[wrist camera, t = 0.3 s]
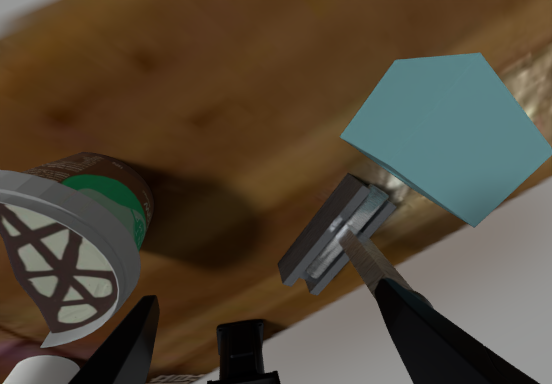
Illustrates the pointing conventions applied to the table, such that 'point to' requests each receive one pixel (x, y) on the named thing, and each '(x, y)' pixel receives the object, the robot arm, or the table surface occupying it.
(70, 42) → the table surface
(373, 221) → the outer sleeve
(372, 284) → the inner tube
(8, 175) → the food container
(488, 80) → the socket block
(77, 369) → the cylindrical container
